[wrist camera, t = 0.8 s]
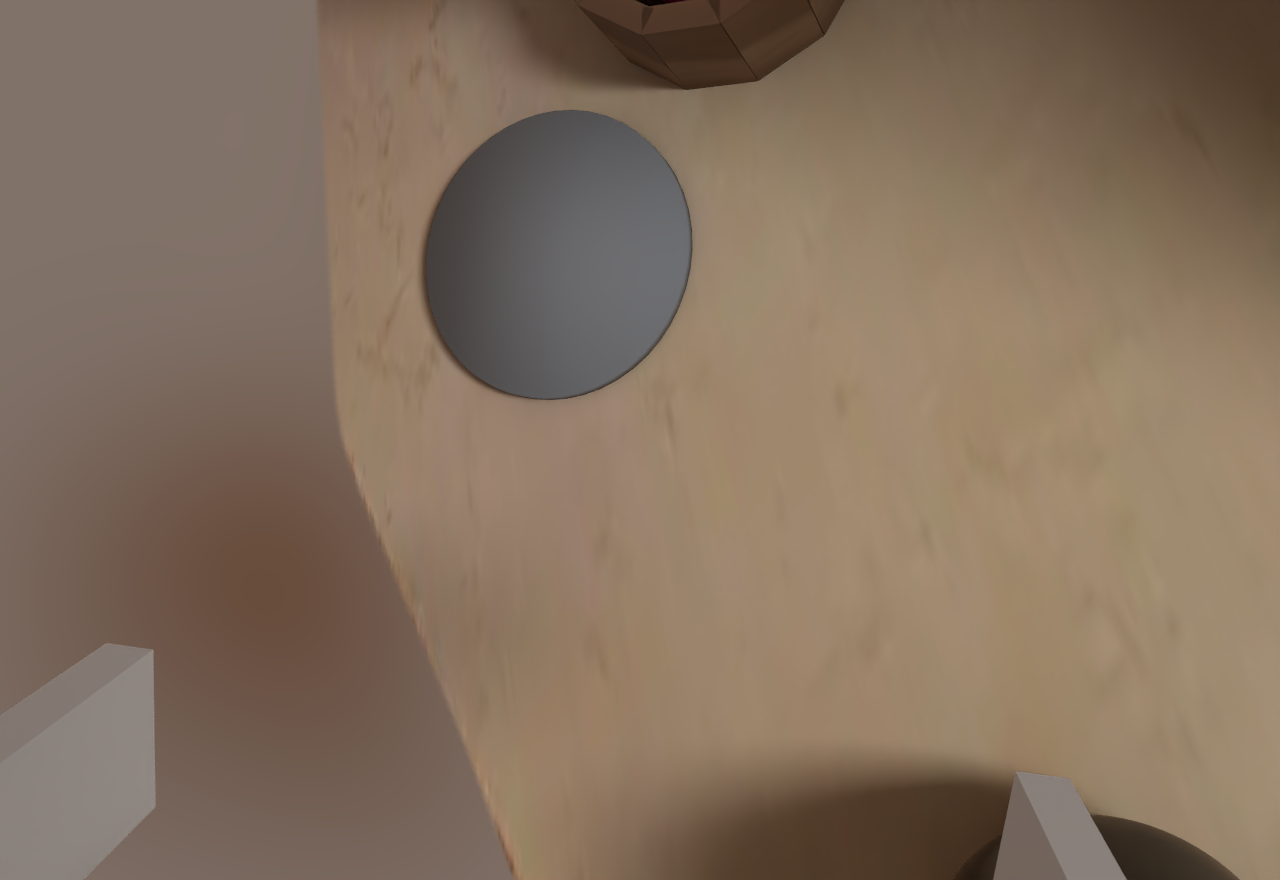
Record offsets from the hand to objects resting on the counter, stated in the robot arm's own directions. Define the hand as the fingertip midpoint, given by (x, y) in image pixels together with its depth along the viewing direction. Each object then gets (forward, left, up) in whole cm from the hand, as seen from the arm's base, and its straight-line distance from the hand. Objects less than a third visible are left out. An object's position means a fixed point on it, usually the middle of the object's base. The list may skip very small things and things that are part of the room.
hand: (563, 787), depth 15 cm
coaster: (+12, -14, -23) cm, 30 cm away
